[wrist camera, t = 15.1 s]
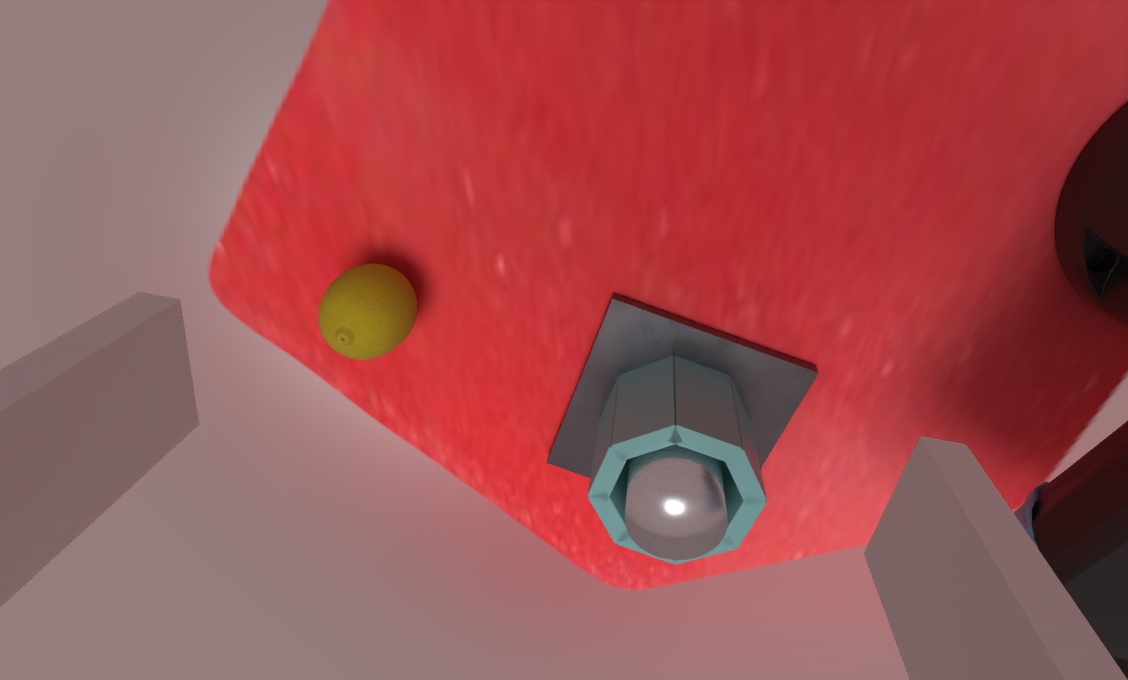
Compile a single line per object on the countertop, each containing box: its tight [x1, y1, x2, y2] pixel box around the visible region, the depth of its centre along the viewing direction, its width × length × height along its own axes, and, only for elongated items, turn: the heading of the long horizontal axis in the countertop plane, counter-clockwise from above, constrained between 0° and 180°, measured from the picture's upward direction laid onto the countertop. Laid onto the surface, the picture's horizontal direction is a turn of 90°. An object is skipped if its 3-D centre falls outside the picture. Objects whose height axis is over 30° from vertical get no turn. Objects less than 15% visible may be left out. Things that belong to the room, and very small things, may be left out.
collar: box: [588, 356, 767, 564], centre depth 42 cm, size 10×10×8 cm
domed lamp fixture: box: [547, 293, 818, 560], centre depth 41 cm, size 14×14×11 cm
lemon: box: [318, 263, 417, 360], centre depth 41 cm, size 6×6×8 cm
